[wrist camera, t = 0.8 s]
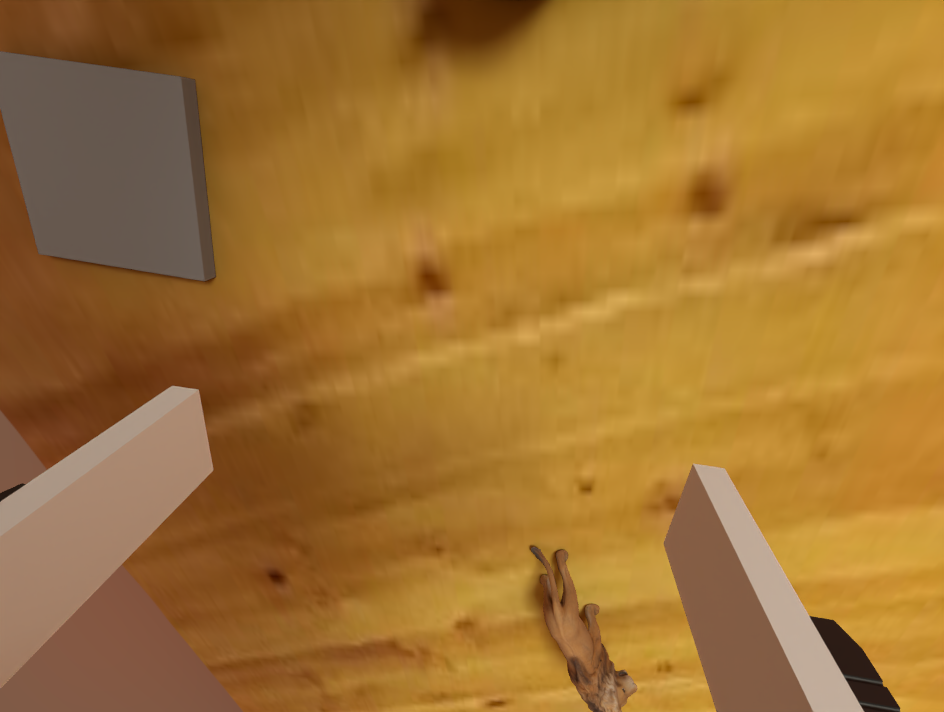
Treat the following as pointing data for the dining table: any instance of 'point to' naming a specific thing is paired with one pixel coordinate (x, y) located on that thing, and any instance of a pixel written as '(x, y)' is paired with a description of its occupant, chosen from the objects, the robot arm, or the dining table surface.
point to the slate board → (109, 164)
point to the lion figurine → (582, 643)
